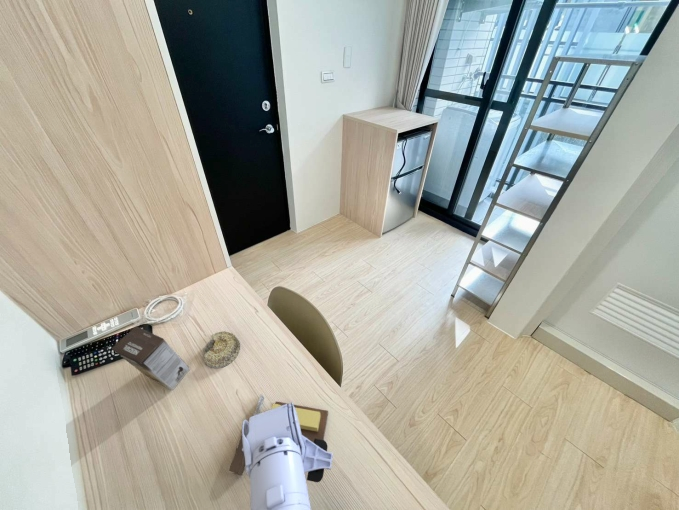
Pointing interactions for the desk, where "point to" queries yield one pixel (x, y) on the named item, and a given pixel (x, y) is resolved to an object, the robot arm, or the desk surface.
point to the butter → (308, 419)
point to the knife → (239, 457)
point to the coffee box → (152, 357)
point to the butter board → (322, 425)
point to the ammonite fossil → (221, 350)
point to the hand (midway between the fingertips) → (293, 459)
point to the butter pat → (275, 406)
